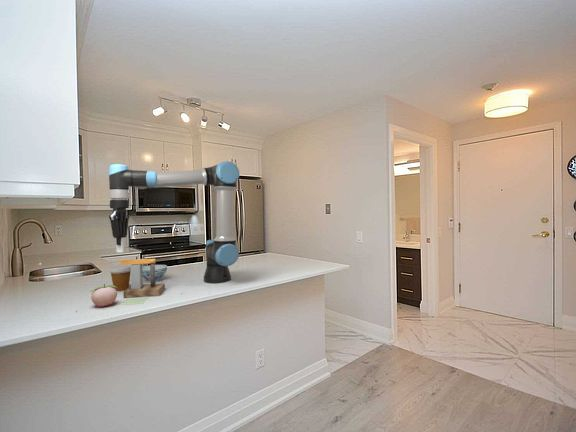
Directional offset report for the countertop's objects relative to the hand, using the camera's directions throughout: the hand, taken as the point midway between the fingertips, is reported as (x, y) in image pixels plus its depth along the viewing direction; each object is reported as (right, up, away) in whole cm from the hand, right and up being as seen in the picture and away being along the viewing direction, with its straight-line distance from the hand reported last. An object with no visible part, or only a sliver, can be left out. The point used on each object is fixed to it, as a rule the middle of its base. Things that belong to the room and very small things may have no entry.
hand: (120, 252), depth 136 cm
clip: (+5, -6, +6) cm, 10 cm away
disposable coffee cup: (-8, -22, +15) cm, 27 cm away
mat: (+9, -22, -5) cm, 24 cm away
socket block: (+8, -21, +7) cm, 24 cm away
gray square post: (+5, -20, +6) cm, 22 cm away
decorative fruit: (0, -22, -11) cm, 25 cm away
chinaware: (-2, -21, +37) cm, 43 cm away
